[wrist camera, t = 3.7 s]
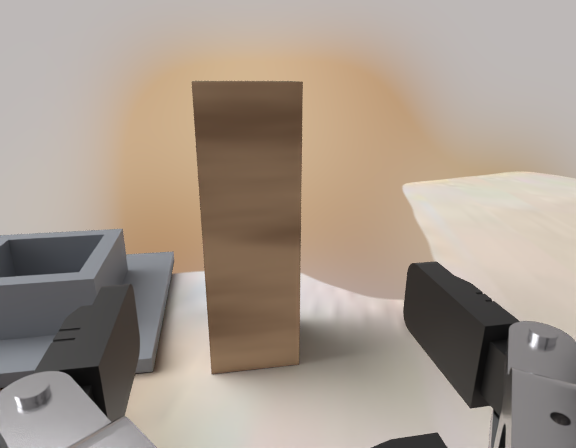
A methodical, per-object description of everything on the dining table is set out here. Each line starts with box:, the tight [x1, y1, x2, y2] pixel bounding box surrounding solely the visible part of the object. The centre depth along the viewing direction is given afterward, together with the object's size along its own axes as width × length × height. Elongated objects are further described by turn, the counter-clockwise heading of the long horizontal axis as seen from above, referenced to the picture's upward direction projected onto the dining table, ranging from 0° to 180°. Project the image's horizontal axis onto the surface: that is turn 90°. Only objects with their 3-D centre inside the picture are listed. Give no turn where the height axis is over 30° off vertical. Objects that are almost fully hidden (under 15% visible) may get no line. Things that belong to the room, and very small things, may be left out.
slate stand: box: [0, 229, 174, 388], centre depth 26 cm, size 14×14×4 cm
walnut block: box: [192, 81, 303, 374], centre depth 21 cm, size 4×4×14 cm
